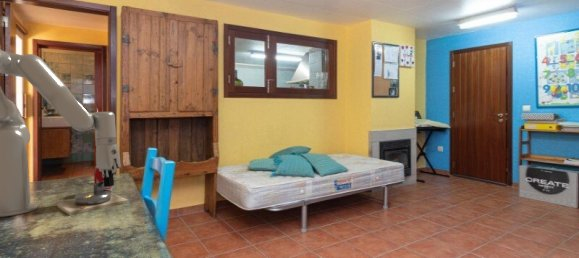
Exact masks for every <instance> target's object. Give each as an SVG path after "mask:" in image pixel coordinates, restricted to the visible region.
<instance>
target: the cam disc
mask: <svg viewBox="0 0 579 258" xmlns="http://www.w3.org/2000/svg"><path fill="white" fill-rule="evenodd" d="M105 189H106V187H105V186H104V181H101V182H98V183H96V184H95V183H93V190H92V191H87V192H83V193H78V194H75V195H76V196H75V195H74V200H75V204H76V205H93V204H99V203H103V202H106V201H109V200H110V199H111V195H110V194H111V191H110V192H109V191H103V190H105Z"/></svg>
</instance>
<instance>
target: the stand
mask: <svg viewBox="0 0 579 258" xmlns="http://www.w3.org/2000/svg"><path fill="white" fill-rule="evenodd" d="M76 195H77V194H75V195H74V197H75V196H76ZM110 195H111V199H110V200H109V201H106V202H103V203H99V204H93V205H76V204H75V199H74V200H70V201H65V202H60V203H59V202H58V203H57V204H56V207H57V208H59V209H60V210H61V211H63V212H64V213H66V214H67V215H68V216H73V215H77V214H82V213H88V212H93V211H97V210H101V209H106V208H111V207H115V206H116V207H117V206H119V205H124V204H128V203H129V199H127V198H125V197H122V196H121V195H117V194H115V193H113V192H112V193H110Z"/></svg>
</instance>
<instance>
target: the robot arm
mask: <svg viewBox="0 0 579 258" xmlns="http://www.w3.org/2000/svg"><path fill="white" fill-rule="evenodd" d="M0 74H4V75H8V76H14V77H19V78H25V80H27V82H28V83H29V84H31V86H32V87H33V88H34V89H35V90H36V91H37V92H38V93H39V94H40V96H41V97H42V98H43V99H44V100H45V101H46V102H47V103H48V104H50V105H51V106H52V107H53V108H54V109H55V111H56V112H57V113H58V114H59V115H60V116H61V117H62V118H63V119H64V120H65V121H66V122H67V123H68V124H69V125H70V126H71V128H72V129H74V130H76V132H77V131H78V132H87V131H89V130H94V137H95V138H94V139H95V147H96V148H95V163H96V164H95V165H96V166H97V168H98V169H99V171H101V172H102V175H103V177H104V186H105V187H109V186H113V187H114V186H115V183H114V182H115V181H114V176H115V173H118V169H121V167H122V164H121V157H120V156H121V155H120V150H119V147H118V144H117V129H116V115H115V113H114V111H97V112H88V110H86V109H85V107H84V106H83V105H82V104H81V103H80V102H79V101H78V100H77V99H76V97H74V95H73V94H72V92H71V91H70V88H68V86H67V85H66V84H65V82H63V80H61V78H60V77H59V76H58V75H57V74H56V73H55V71H53V70H52V68H50V66H49V65H48V64H47V63H46V62H45V61H44V60H43V59H42V58H41V57H40V56H38V55H36V54H31V53H28V54H24V55H23V54H17V53H13V52H10V51H5V50H2V49H1V48H0ZM30 140H31V133H30V131H29V129H28V127H27V125H26V122H25V120H24V118H23V116H22V114H21V112H20V110H19V108H18V106H17V105H16V104H15V102H14V101H12V100H11V99H8V98H7V97H6V94H5V92H4V91H3V88H2V86H1V85H0V217H1V218H2V217H9V216H11V217H12V216H17V215H23V214H25V213H30V212H32V211H34V210H35V209H37V205H36V204H35V203H31V189H30V186H31V185H30V176H29V174H30V173H29V172H30V171H29V157H28V153H27V152H28V150H27V145H28V144H29V142H30ZM96 166H95V167H96Z"/></svg>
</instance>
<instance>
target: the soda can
mask: <svg viewBox="0 0 579 258" xmlns="http://www.w3.org/2000/svg"><path fill="white" fill-rule="evenodd" d="M93 179H94V180H93V182H94V183H93V184H96V183H98V182H101V181H104V177H103V175H102V172H101V171H99V169H98V168H97V166H95V169H94V170H93ZM113 187H114V185H113V186H109V187H106V189H105V190H103V191H109V192H110V193H111V192H112V191H113V189H114V188H113Z"/></svg>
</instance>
